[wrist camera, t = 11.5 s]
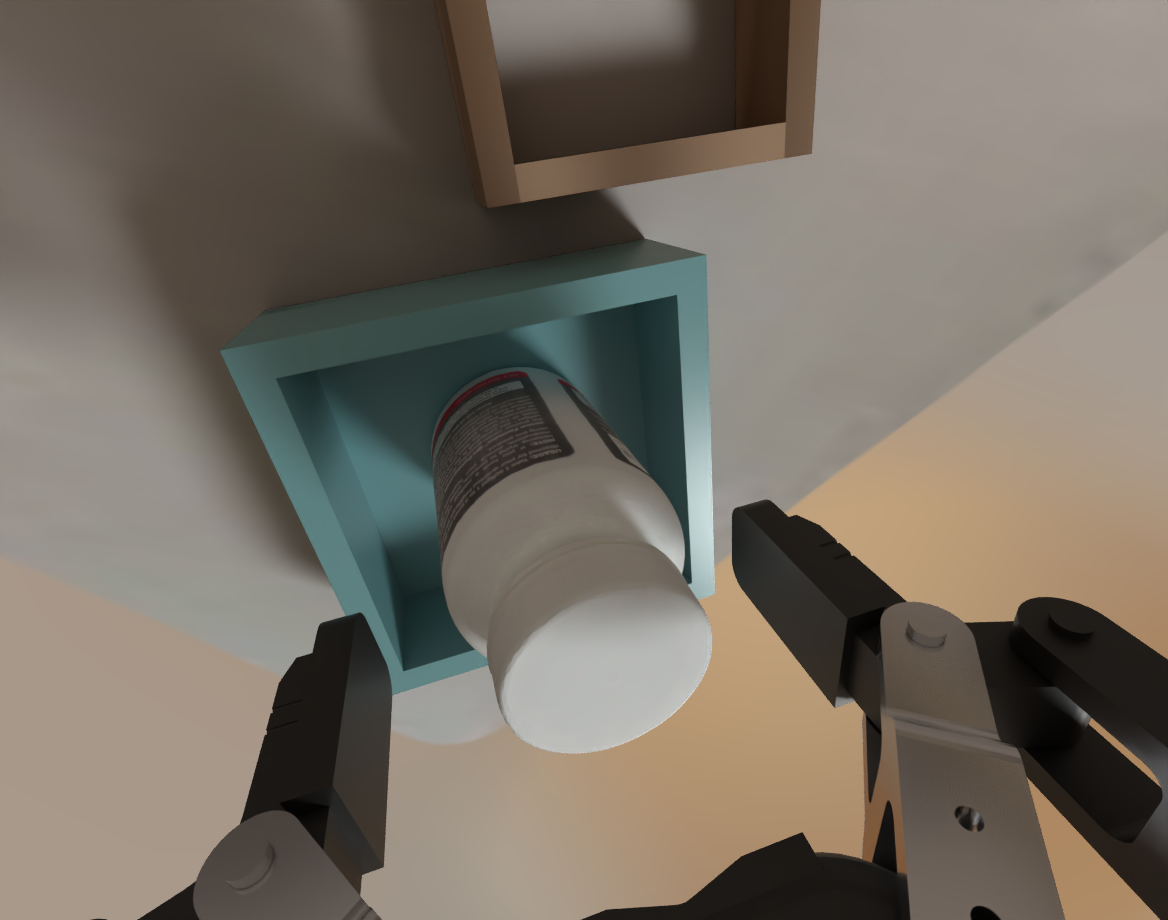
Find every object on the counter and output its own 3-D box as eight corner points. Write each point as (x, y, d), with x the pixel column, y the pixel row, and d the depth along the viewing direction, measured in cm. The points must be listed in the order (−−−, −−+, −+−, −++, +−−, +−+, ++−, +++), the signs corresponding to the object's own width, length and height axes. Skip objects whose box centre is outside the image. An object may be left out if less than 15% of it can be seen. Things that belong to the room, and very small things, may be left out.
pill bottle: (425, 513, 18) (441, 802, 10) (435, 354, 16) (467, 550, 8) (581, 513, 20) (708, 760, 11) (609, 370, 18) (792, 544, 9)
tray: (646, 238, 17) (705, 254, 13) (667, 529, 22) (714, 594, 19) (264, 310, 15) (219, 350, 11) (389, 608, 20) (384, 697, 17)
